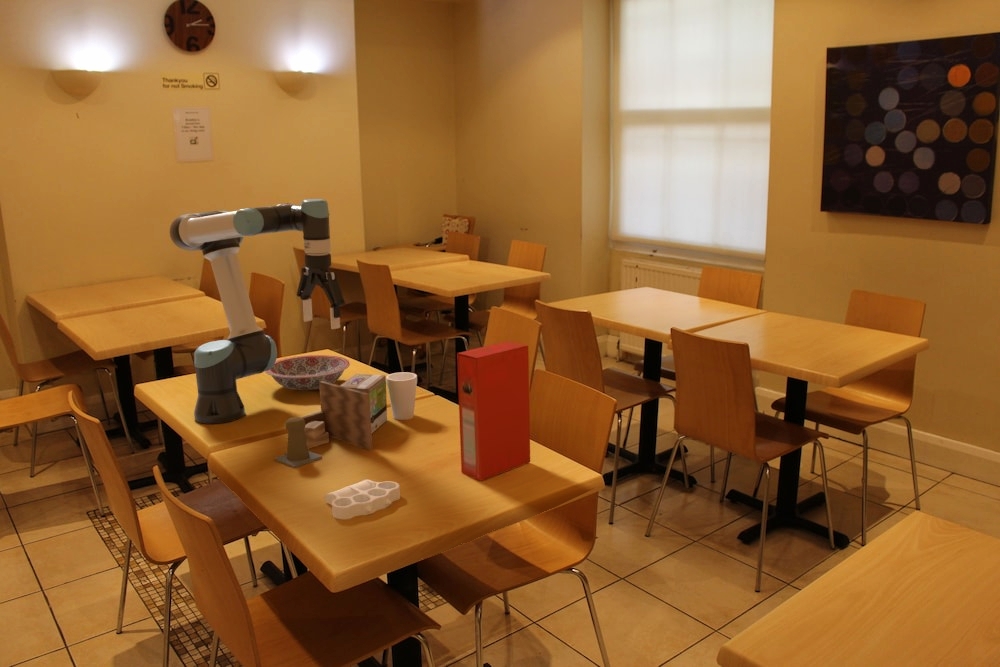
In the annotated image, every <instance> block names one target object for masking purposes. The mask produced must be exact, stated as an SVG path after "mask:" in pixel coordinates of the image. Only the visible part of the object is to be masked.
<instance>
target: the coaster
mask: <svg viewBox="0 0 1000 667" xmlns="http://www.w3.org/2000/svg"><path fill="white" fill-rule="evenodd" d="M308 452H309V458H307V459H305V460H301V461H290V460H288V459H287V453H285V454H281V455H279V456H276V457H274V460H275V461H276V462H278V463H281V464H284V465H286V466H289V467H291V468H294V469H295V468H298V467H301V466H303V465H306V464H310V463H311V462H312V463H313V462H314V461H319V460H320V459H323V456H322V455H320V454H317V453H315V452H313V451H310V450H308Z"/></svg>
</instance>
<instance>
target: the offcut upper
mask: <svg viewBox="0 0 1000 667" xmlns="http://www.w3.org/2000/svg"><path fill="white" fill-rule="evenodd" d="M324 432H325V423H324V422H322V421H311V422H309V423H308V424H306V425H305V428H304V433H305V438H313V439H315V438H317V437H318V436H320V435H321V434H322V433H324Z"/></svg>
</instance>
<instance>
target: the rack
mask: <svg viewBox="0 0 1000 667" xmlns="http://www.w3.org/2000/svg"><path fill="white" fill-rule="evenodd" d="M319 397H320V398H319V400H320V411H317V412H315V413H311V414H308V415H304V416H300V417H301V418H303V419H304V420H305V425H306V424H308V423H309V422H311V421H322V422H324V423H325V432H327V433H329V438H333V439H336V440H339V441H342V442H345V443H348V444H350V445H353V446H356V447H359V448H362V449H366V450H368V451H370V450H373V437H372V436H373V435H372V434H373V433H372V432H371V415H370V397H369V394H367V393H364V392H360V391H357V390H353V389H350V388H346V387H343V386H340V385H339V384H335V383H333V384H332V383H328V382H325V381H320V382H319Z"/></svg>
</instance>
